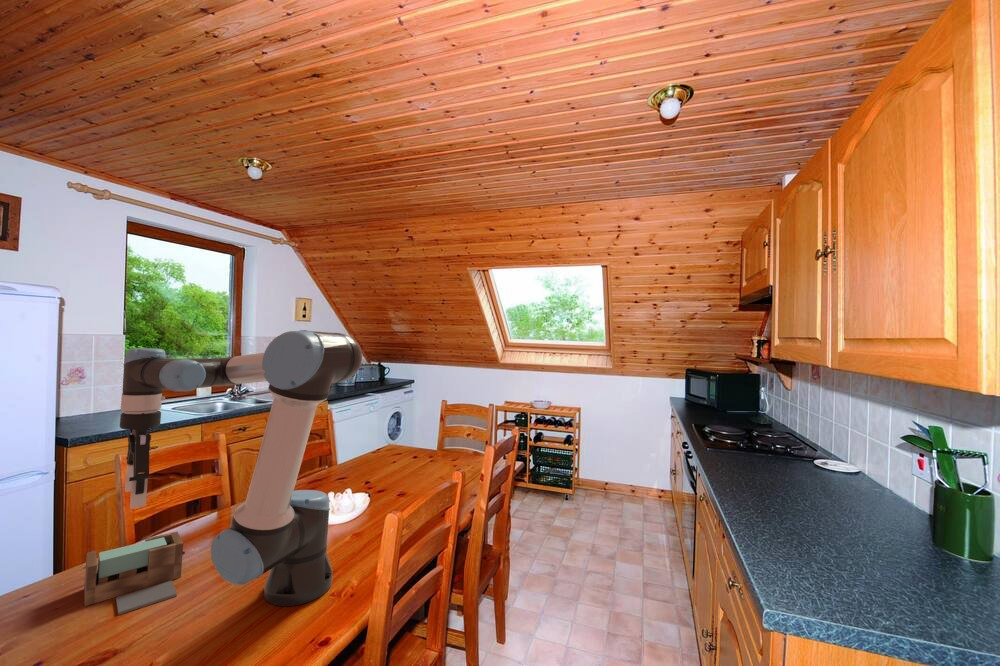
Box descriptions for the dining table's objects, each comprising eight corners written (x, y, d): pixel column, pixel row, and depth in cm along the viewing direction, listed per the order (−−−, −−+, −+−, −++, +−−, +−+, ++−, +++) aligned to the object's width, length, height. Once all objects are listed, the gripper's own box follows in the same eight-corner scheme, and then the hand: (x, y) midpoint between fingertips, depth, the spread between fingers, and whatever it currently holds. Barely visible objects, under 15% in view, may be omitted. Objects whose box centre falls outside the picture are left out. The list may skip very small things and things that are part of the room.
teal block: (162, 552, 105) (164, 537, 105) (165, 560, 102) (166, 544, 102) (97, 569, 96) (99, 552, 97) (98, 578, 93) (99, 561, 93)
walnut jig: (175, 563, 108) (177, 531, 109) (180, 577, 102) (183, 543, 103) (84, 589, 96) (86, 552, 96) (84, 606, 90) (87, 567, 90)
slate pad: (176, 596, 95) (176, 593, 95) (118, 615, 88) (118, 612, 88) (171, 582, 100) (171, 580, 100) (116, 599, 93) (116, 597, 93)
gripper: (169, 417, 94) (162, 510, 93) (154, 403, 111) (148, 481, 110) (125, 420, 88) (117, 519, 88) (117, 405, 106) (110, 487, 105)
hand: (134, 498), depth 99 cm, fingers open, 13 cm apart
